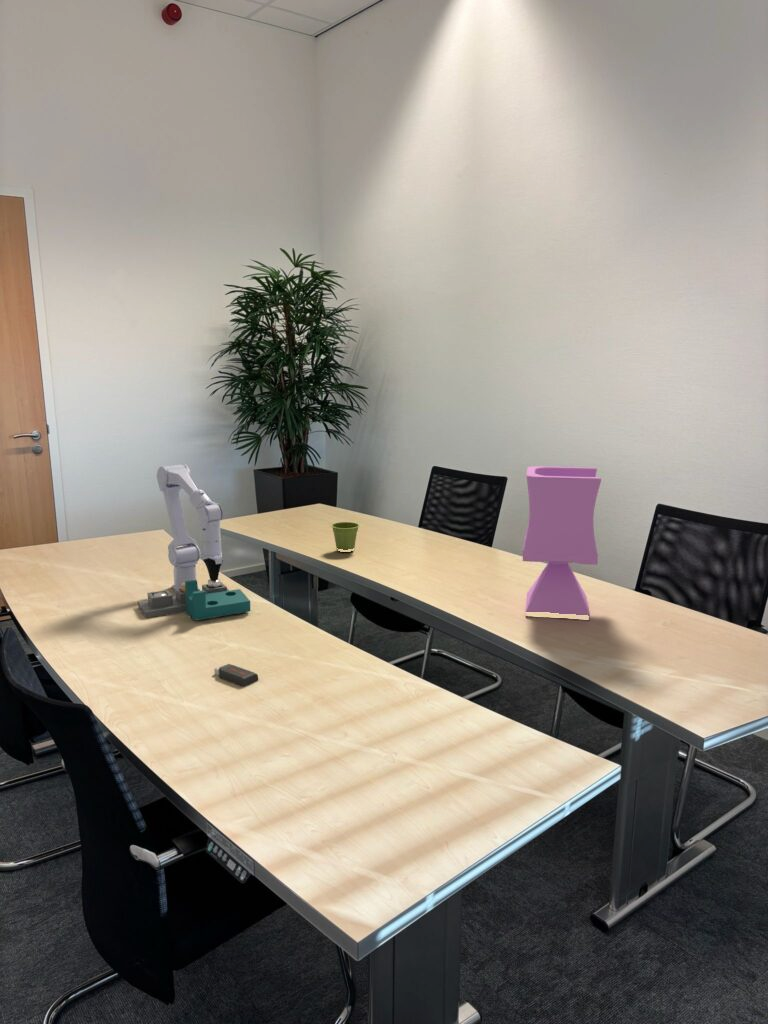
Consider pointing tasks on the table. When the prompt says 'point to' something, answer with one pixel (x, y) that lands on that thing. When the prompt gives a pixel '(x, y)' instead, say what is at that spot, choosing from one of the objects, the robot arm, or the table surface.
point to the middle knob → (183, 587)
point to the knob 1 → (159, 594)
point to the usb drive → (236, 675)
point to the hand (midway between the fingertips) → (214, 579)
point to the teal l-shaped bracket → (213, 602)
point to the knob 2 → (213, 583)
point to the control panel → (170, 601)
